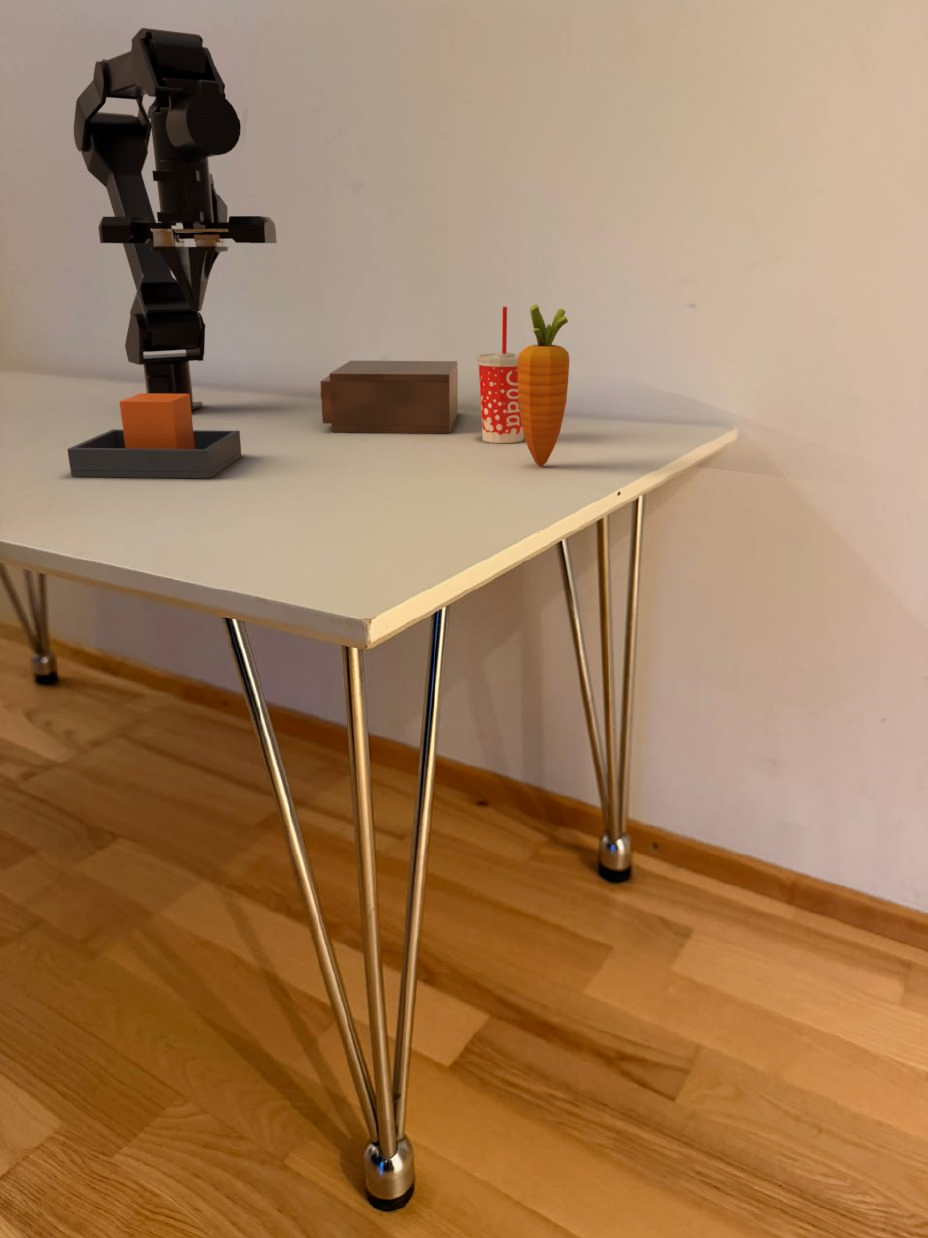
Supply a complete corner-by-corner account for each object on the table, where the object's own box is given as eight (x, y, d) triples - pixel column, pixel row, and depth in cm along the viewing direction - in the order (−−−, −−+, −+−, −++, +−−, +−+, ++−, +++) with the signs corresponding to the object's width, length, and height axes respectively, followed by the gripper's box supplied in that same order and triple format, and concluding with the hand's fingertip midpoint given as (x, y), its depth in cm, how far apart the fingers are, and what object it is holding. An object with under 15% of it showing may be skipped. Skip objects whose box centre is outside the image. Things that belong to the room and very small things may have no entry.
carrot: (558, 460, 95) (564, 302, 89) (572, 470, 90) (579, 305, 85) (510, 462, 94) (512, 302, 89) (521, 472, 90) (525, 305, 84)
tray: (115, 454, 98) (112, 429, 97) (241, 456, 97) (239, 430, 96) (71, 476, 88) (66, 448, 87) (210, 478, 87) (208, 450, 86)
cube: (147, 454, 95) (139, 393, 93) (196, 454, 94) (189, 393, 92) (127, 464, 90) (118, 400, 88) (178, 465, 90) (171, 401, 88)
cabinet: (332, 432, 110) (329, 373, 107) (352, 413, 122) (350, 360, 120) (449, 433, 109) (449, 374, 106) (457, 414, 121) (457, 361, 119)
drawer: (312, 423, 110) (309, 380, 108) (332, 406, 121) (330, 368, 120) (430, 424, 109) (429, 381, 107) (439, 407, 121) (438, 368, 119)
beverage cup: (482, 445, 102) (483, 308, 97) (470, 435, 108) (470, 305, 103) (537, 443, 103) (540, 307, 98) (522, 433, 109) (525, 304, 104)
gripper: (283, 167, 112) (292, 307, 117) (127, 168, 113) (144, 307, 118) (258, 159, 101) (269, 312, 107) (87, 160, 102) (107, 312, 108)
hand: (196, 310), depth 110 cm, fingers closed
